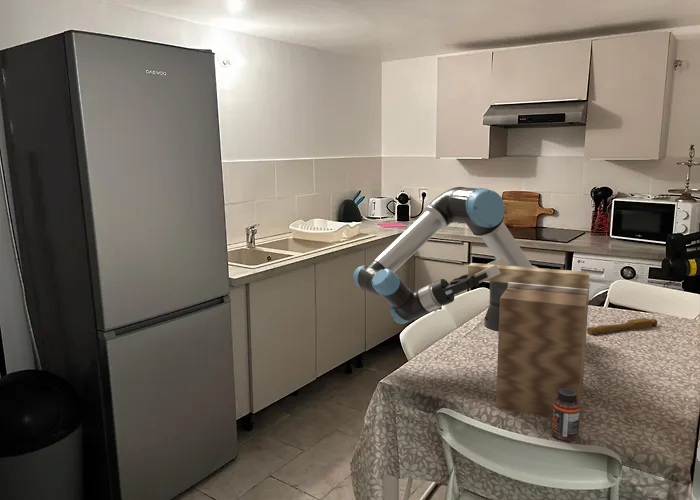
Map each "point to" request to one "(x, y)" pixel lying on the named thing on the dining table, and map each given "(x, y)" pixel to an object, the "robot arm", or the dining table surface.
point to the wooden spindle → (623, 326)
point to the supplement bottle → (566, 415)
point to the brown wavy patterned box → (540, 346)
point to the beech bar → (534, 276)
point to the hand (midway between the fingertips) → (502, 264)
